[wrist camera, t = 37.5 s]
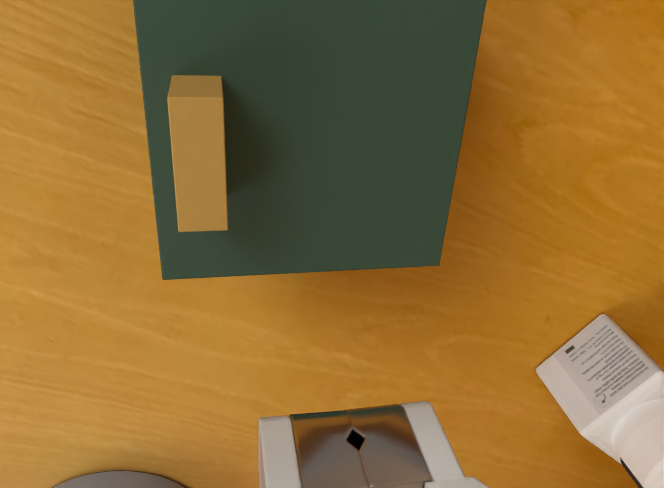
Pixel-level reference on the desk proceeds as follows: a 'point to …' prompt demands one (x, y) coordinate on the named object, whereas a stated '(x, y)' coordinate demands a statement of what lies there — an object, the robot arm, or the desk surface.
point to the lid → (303, 130)
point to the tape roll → (119, 481)
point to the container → (612, 397)
